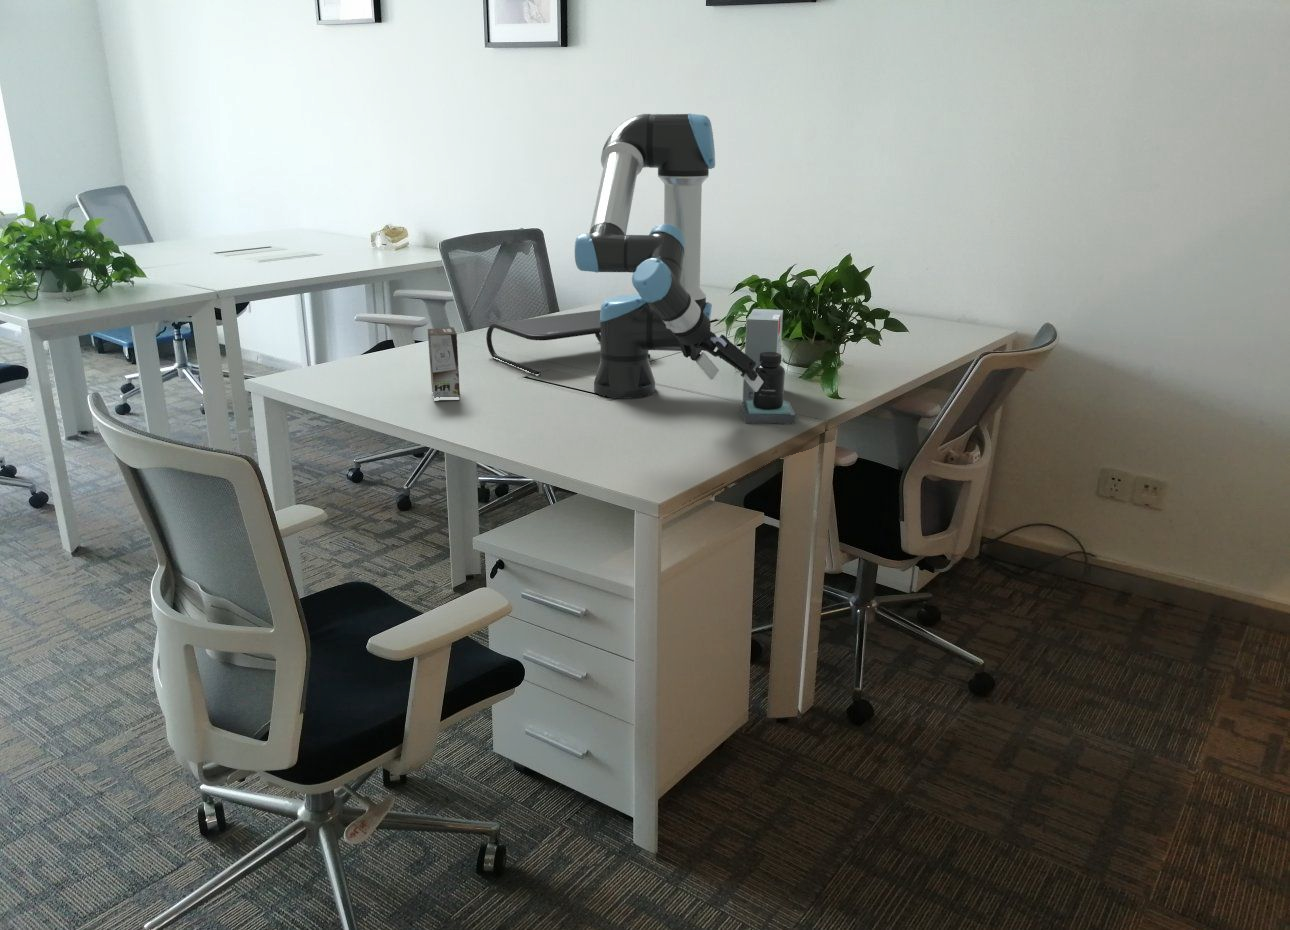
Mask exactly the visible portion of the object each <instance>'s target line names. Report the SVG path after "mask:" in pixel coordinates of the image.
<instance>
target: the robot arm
mask: <svg viewBox="0 0 1290 930" xmlns="http://www.w3.org/2000/svg"><path fill="white" fill-rule="evenodd" d="M713 133H714V132H713V127H712V122H711V119H710V118H709V116H707V115H704V114H695V113H671V114H670V113H667V114H666V113H665V114H664V113H663V114H662V113H661V114H660V113H659V114H658V113H655V114H651V113H642V114H638V115H635V116H632V117H630V118H628V119H626V120H625V121H624V122H622V123H620V125H619V126H617V127H616V128H615V129H614V130H613V131H612V132H611V133H610V134H609V136H608V138H607V140H606V141H605V143H604V146H603V148H602V151H601V155H600V164H601V167H602V173H601V178H600V182H599V187H598V191H597V196H596V200H595V206H594V208H593V209H594V210H593V213H592V219H591V223H590V229H589V233H588V232H587V233H582V234H579V235H577V236H576V239H575V243H574V261H575V262H574V263H575V265H576V266H575V267H577V269H578V270H579V271H580V272H581V271H582V272H593V273H632V275H631V276H632V277H631V282H632V283H631V284H632V286H633V287H634V289H635V290H636V292H637V294H627V295H620V296H615V297H612V298H609V299H606V300H605V301H603V302H602V304H601V306H600V310H601V313H600V320H599V321H600V335H601V343H600V361H599V366H598V368H597V371H596V374H595V378H594V382H593V391H595V392H596V393H598V394H599V396H601V395H602V396H601V397H605V396H607V397H606V398H611V397H612V398H613V399H636V398H637V399H638V398H642V397H644V398H645V397H648V396H650V395H652V394H655V392H656V381H655V378H654V374H653V371H652V368H651V364H650V361H649V358H648V354H649V351H664V352H665V351H668V352H682V355H683V357H685V358H687V359H688V358H689V357H690V360H692V361H694V362H695V363H696V364H697V366H699V368H700V369H701V370H702V371H703V372H704V374H705V375H706V376H707V378H709V379H710V380H713V381H714V380H715V377H716V376H717V374H718V373H719V371H720V369H719V368H718V367H717V365H716V364H715V363H714V362H713V361H712V360H711V359H710V357H709V356H708V355H707V354H706V353H705V352H707V353H709V354H710V355H711V356H713V357H715V358H717V357H718V358H720V359H722V360H723V361H725V362H726V363H727V364H729V366H730V365H731V366H732V367H733V368H734V369H736V370H738V371H739V374H740V377H741V378H744V379H745V380H746V382H747V383H748V384H749V385H750V387H751V388H752V389H753V390H754V391H755V392H757V391H758V390H759V388H760V387H761V385H762V384H763V380H762V379H761V378H760V377H759V375H758V374H757V373H756V372H755V371H754V369H753V368H754V367H755V365H756V363H755V362H754V361H753V360H752V359H751V358H749V357H748V356H747V355H746V354H745V352H743V351H742V350H741V349H739V348H738V346H736V345H735V344H733V342H731V341H730V340H729V339H728V337H727V336H726V335H724V334H720V336H719V337H718V336H717V335H716V333H714V332H712V331H711V317H712V315H711V314H712V308H713V304H712V303H710V302H709V301H707V295H706V293H705V292H704V291H703V290H702V289H701V250H702V249H701V243H702V242H701V239H702V238H701V237H702V234H701V233H702V192H703V191H702V187H703V186H702V185H703V183H704V182H705V181H706V180H707V178H709V175H710V174H709V173H710V172H709V170H712V169H714V168H715V166H716V154H715V153H716V151H715V140H714V134H713ZM643 168H644V169H645V168H650V169H653V168H654V169H657V177H658V178H659V179H660V181H661V182H662V183H663V185H664V194H663V195H664V196H663V199H664V200H663V201H664V202H663V203H664V204H663V213H664V214H663V220H664V221H663V224H662V223H661V224H660V225H657V226H655V227H653V228H652V229H651V230H650V232H649V234H643V235H642V234H627V230H628V225H629V219H630V214H631V209H632V203H633V200H634V199H633V198H634V193H635V187H636V184H637V183H636V182H637V177H638V175H639V174H640V173H641V172H642V170H643ZM716 349H717V350H716ZM715 350H716V351H715ZM702 351H703V352H702ZM595 392H594V393H595ZM596 393H595V394H596ZM598 394H597V395H598Z"/></svg>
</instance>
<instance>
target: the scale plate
mask: <svg viewBox="0 0 1290 930" xmlns="http://www.w3.org/2000/svg"><path fill="white" fill-rule="evenodd" d="M745 402H746V405H747V408H748V411H749V414H791V411H790V408H789V406H788V404H787V402H788V401H787V400H783V405H782V407H781V408H779V409H773V410H767V409H760V408H757V407H755V406H754V405H753V401H745Z"/></svg>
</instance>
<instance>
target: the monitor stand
mask: <svg viewBox="0 0 1290 930" xmlns="http://www.w3.org/2000/svg"><path fill="white" fill-rule="evenodd" d="M600 313H601V309H597V310H590V311H582V312H573V313H565V314H556V315H547V316H543V317H541V316H539V317H533V318H526V319H518V320H509V321H502V322H494V323H491V324H490V325H489V326H488V328H487V331H486V337H485V338H486V346H487V349H488V352H489V354H490V356H491V357H492V358H493V357H495V358H498V359H500V360H502V361H504V362H507V363H509V364H512V365H514V366H516V367H519V368H522V369H524V370H527V371H529V372H531V373H534V374H539V373H540V374H541V372H540V371H539V370H536V369H534V368H531V367H528V366H525V365H523V364H520V363H519V362H515V361H512V360H511V359H508V358H505V357H502V356H500V355H498V354H497V352H496V351H495V349H494V346H493V340H492V335H493V332H494V329H497V330H500V331H503V332H506V333H509V334H512V335H514V336H517V337H521V338H524V339H526V340H529V341H552V340H559V339H566V338H574V337H581V336H587V335H594V336H595V337H596V339H597V340H598V342H599V343H600V344H601V335H600V321H599V320H600ZM650 358H651V354H649V353H648V359H650Z"/></svg>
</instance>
